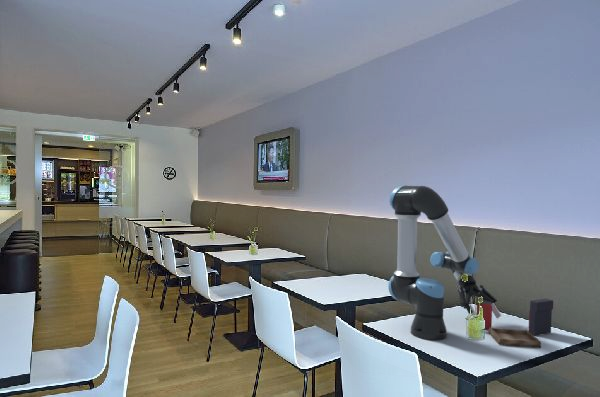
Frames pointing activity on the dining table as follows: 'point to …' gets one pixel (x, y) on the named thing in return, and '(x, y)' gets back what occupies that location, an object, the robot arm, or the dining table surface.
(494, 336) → the walnut tray
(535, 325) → the dark grey upright block
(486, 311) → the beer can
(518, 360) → the dining table surface
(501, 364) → the dining table surface
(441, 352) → the dining table surface
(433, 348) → the dining table surface
